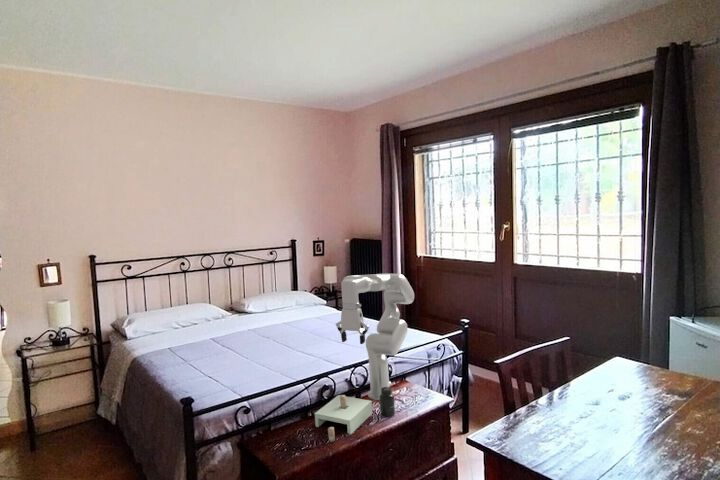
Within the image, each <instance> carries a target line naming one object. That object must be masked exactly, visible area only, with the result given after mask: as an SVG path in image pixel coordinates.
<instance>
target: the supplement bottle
mask: <svg viewBox="0 0 720 480" xmlns="http://www.w3.org/2000/svg"><path fill="white" fill-rule="evenodd" d="M392 392H393V390H392V387H383V388H381V393H382V394H381V395H380V397H379V399H380V400H379V412H380V416H382V417H384V418H391V417H394V416H395V415H396V409H395V408H396V407H395V405H396V403H395V395H394V393H393V394H392Z"/></svg>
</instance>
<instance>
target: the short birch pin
mask: <svg viewBox="0 0 720 480" xmlns="http://www.w3.org/2000/svg"><path fill="white" fill-rule="evenodd" d="M327 434H328V441H329V442H330V443H331V442H332V443H333V442H335V440H336V435H335V427H334V426H330V427H327Z"/></svg>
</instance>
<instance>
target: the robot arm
mask: <svg viewBox="0 0 720 480" xmlns="http://www.w3.org/2000/svg"><path fill="white" fill-rule="evenodd" d="M340 283H341V284H340V286H341V297H342V298H341V299H342V309H341V314H340V315H341V316H340V321H337V322H336V323H335V326H336V328H337V330H338V332H339V333H340V336H341V342H342V343H344V342H346V341H347V340H348V339H347V331H349V332H350V331H351V332H358V333H359V344H360V345H363V344H364V343H365V348H366V351H367V355H368V356H367V357H368V368H369V381H370V384H369V385H370V390H369V391H368V392H367V396H368V398H369V399H371V400H374V401H380V399H379V397H380V395H381V394H382V393H381V388H383V387H390V386H391V385H392V382H391V380H390V376H389V361H388V358H387V356H395V355H397V354H398V352H399V351H400V349H401V347H402V345H403V342H404V341H405V338H406V336H407V334H408V323H407V322H406V321H405V320H404V319H401V318H400V317H401V312H400V310H399V307H398V306H397V304H400V305H409V304H412V303H413V302H414V300H415V292H414V290H413V288H412V286H411V285H410V282H409V281H408V278H407V277H405V276H404V275H403V274H401V273H376V274H359V275H358V274H356V275H355V274H354V275H347V276H345V277H344V278H343V280H342V281H341V282H340ZM380 291H384V292H383V300H384V301H383V302H384V311H383V314H382V315H381V318H380V319H379V321H378V322H377V325H376V332H375V333H371V334H368V336H367V337H366V334H367V333H368V332H369V329H370V325H369V324H367V323H366V322H365V321H364V316H363V312H362V308H361V307H362V303H360V300H359V294H361V293H362V294H363V293H367V292H380ZM390 388H391V387H390ZM392 394H393V395H394V392H393V391H392Z"/></svg>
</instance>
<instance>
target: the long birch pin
mask: <svg viewBox="0 0 720 480" xmlns="http://www.w3.org/2000/svg"><path fill="white" fill-rule="evenodd" d="M346 397H347V396H346V395H345V394H340V403H341V409H346Z"/></svg>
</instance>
